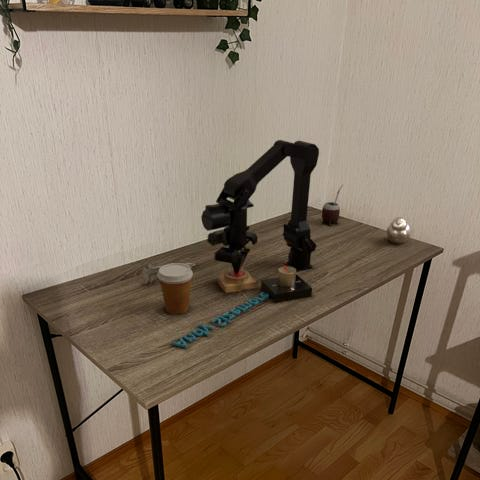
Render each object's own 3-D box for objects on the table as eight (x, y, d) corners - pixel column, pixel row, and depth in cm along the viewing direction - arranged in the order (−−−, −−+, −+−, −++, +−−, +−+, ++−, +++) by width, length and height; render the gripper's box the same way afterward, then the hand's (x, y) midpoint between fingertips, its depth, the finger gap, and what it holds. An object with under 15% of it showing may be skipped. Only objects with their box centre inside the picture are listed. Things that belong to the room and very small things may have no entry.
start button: (240, 274, 153) (240, 269, 152) (245, 280, 149) (245, 274, 148) (227, 276, 151) (227, 271, 151) (232, 282, 148) (232, 276, 147)
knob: (298, 286, 145) (299, 271, 142) (282, 288, 143) (283, 273, 141) (290, 278, 149) (291, 264, 146) (274, 281, 147) (275, 266, 145)
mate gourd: (320, 225, 199) (324, 188, 192) (321, 219, 206) (324, 183, 198) (339, 226, 198) (343, 189, 191) (339, 220, 205) (343, 184, 197)
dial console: (295, 282, 153) (296, 273, 152) (311, 296, 145) (312, 287, 144) (260, 288, 150) (261, 279, 148) (274, 303, 142) (275, 293, 140)
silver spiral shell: (378, 241, 185) (383, 215, 179) (396, 236, 189) (400, 211, 184) (397, 249, 178) (402, 222, 173) (414, 244, 183) (420, 218, 178)
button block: (246, 277, 156) (246, 265, 154) (256, 288, 150) (256, 276, 148) (216, 282, 153) (216, 270, 151) (225, 293, 147) (225, 281, 145)
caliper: (145, 285, 151) (144, 266, 147) (143, 284, 151) (142, 265, 148) (196, 266, 163) (195, 248, 160) (193, 265, 164) (193, 247, 161)
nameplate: (168, 343, 123) (182, 351, 120) (168, 341, 122) (182, 348, 119) (260, 293, 147) (273, 298, 144) (260, 290, 146) (273, 296, 144)
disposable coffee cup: (180, 320, 133) (177, 280, 127) (153, 310, 137) (149, 271, 131) (200, 306, 140) (199, 267, 134) (174, 297, 144) (172, 259, 138)
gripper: (225, 210, 152) (225, 257, 160) (197, 229, 137) (198, 280, 145) (258, 215, 148) (257, 263, 156) (233, 235, 133) (233, 287, 141)
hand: (236, 272), depth 150 cm, fingers closed, pressing on start button
